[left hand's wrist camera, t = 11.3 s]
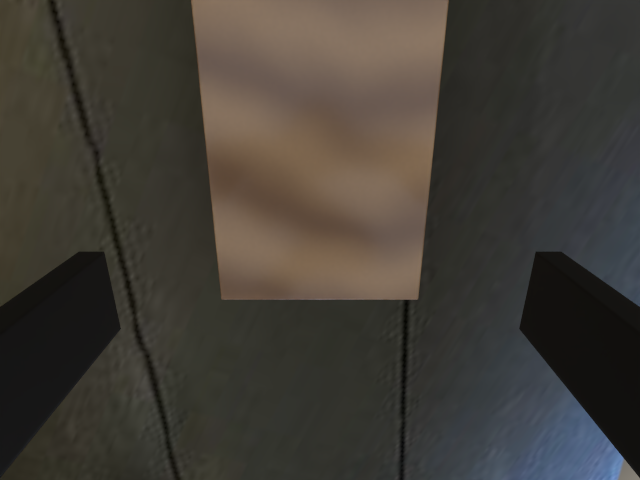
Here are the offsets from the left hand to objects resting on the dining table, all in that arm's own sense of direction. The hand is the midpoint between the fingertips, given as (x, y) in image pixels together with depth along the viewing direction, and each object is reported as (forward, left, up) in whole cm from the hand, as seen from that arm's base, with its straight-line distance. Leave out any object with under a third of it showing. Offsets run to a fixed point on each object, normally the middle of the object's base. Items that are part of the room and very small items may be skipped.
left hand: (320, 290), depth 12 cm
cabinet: (+1, +6, -17) cm, 18 cm away
